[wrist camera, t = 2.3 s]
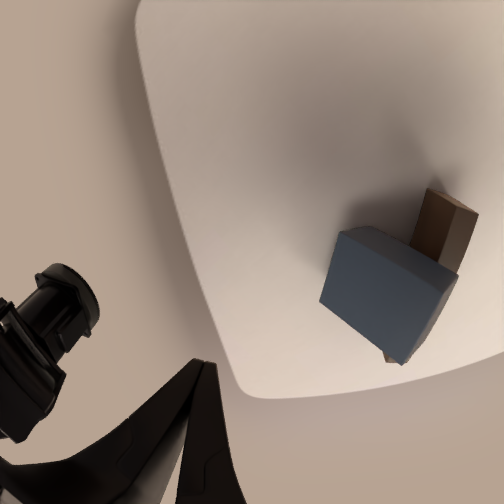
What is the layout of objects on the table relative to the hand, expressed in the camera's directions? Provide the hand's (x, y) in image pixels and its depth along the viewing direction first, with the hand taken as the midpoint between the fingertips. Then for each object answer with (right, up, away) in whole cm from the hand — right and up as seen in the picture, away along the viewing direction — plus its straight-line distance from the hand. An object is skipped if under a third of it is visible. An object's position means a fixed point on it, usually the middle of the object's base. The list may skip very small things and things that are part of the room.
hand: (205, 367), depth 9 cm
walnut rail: (+14, +3, +9) cm, 17 cm away
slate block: (+10, +2, +6) cm, 11 cm away
